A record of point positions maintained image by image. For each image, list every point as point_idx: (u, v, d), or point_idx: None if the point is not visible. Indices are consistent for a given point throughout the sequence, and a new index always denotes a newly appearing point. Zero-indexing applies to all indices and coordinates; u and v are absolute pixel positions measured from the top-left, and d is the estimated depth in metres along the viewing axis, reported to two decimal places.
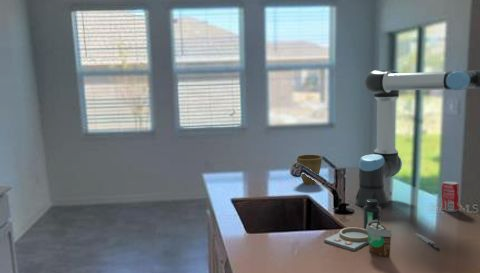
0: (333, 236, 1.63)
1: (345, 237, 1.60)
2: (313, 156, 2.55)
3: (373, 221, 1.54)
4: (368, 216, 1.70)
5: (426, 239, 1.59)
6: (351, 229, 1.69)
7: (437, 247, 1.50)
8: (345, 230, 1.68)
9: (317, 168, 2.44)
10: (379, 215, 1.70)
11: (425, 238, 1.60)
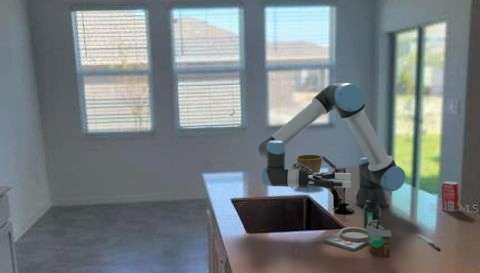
0: (333, 236, 1.63)
1: (345, 237, 1.60)
2: (313, 156, 2.55)
3: (373, 221, 1.54)
4: (368, 216, 1.70)
5: (427, 239, 1.59)
6: (351, 229, 1.69)
7: (438, 247, 1.50)
8: (345, 230, 1.68)
9: (317, 168, 2.44)
10: (379, 215, 1.70)
11: (426, 238, 1.60)
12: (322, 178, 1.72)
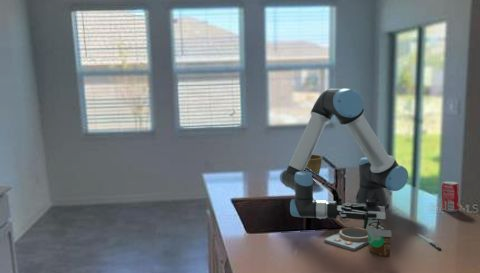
0: (333, 236, 1.63)
1: (345, 237, 1.60)
2: (313, 156, 2.55)
3: (373, 221, 1.54)
4: None
5: (427, 239, 1.59)
6: (351, 229, 1.69)
7: (439, 247, 1.50)
8: (345, 230, 1.68)
9: (317, 168, 2.44)
10: None
11: (426, 238, 1.60)
12: (353, 209, 1.72)
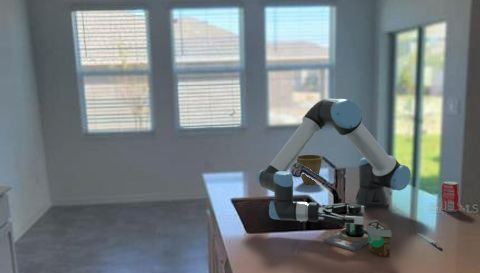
0: (333, 236, 1.63)
1: (345, 237, 1.60)
2: (313, 156, 2.55)
3: (373, 221, 1.54)
4: None
5: (428, 239, 1.59)
6: None
7: (440, 247, 1.50)
8: (345, 230, 1.68)
9: (317, 168, 2.44)
10: None
11: (427, 238, 1.60)
12: (333, 213, 1.61)
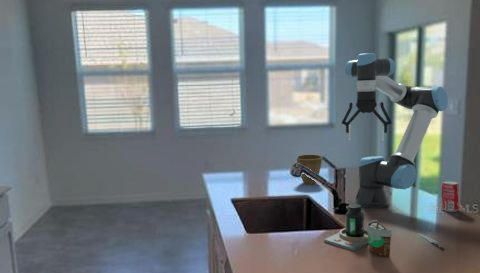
0: (333, 236, 1.63)
1: (345, 237, 1.60)
2: (313, 156, 2.55)
3: (373, 221, 1.54)
4: (351, 222, 1.60)
5: (429, 239, 1.59)
6: None
7: (442, 247, 1.50)
8: (345, 230, 1.68)
9: (317, 168, 2.44)
10: (362, 221, 1.60)
11: (428, 238, 1.60)
12: None
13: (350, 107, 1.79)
